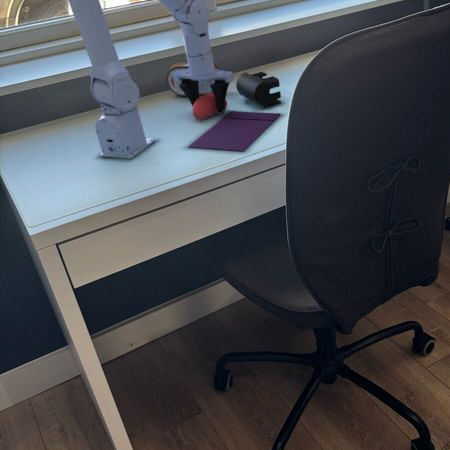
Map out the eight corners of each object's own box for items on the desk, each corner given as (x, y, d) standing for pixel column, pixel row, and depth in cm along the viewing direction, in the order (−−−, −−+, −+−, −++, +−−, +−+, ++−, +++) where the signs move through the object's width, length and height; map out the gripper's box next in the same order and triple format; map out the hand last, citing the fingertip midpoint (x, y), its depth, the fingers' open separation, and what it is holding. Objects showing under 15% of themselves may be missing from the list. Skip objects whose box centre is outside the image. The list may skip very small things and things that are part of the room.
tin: (226, 90, 149) (221, 59, 145) (224, 95, 147) (218, 62, 142) (172, 94, 151) (165, 62, 147) (168, 98, 149) (161, 66, 144)
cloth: (243, 151, 115) (243, 149, 115) (188, 147, 120) (188, 145, 119) (281, 115, 131) (280, 113, 130) (231, 112, 135) (230, 110, 135)
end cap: (238, 101, 141) (234, 75, 138) (263, 94, 144) (259, 68, 141) (257, 112, 134) (253, 84, 130) (282, 104, 137) (279, 76, 133)
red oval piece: (191, 120, 137) (182, 103, 131) (219, 98, 139) (211, 80, 134) (204, 131, 135) (196, 115, 129) (232, 108, 137) (225, 91, 131)
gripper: (235, 48, 128) (244, 105, 135) (180, 47, 133) (192, 103, 140) (220, 57, 123) (231, 116, 130) (164, 56, 128) (177, 113, 135)
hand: (209, 110), depth 135 cm, fingers closed on red oval piece, 6 cm apart
